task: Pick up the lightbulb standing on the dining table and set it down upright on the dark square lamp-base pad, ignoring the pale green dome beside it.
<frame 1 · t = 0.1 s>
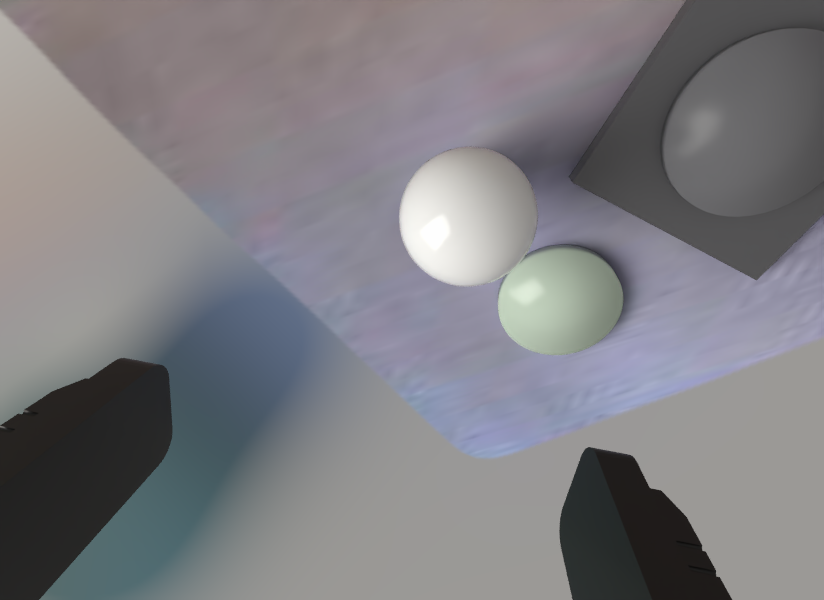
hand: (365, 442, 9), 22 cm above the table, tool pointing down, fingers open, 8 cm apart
lightbulb: (470, 174, 28), on the table
pale green dome: (557, 298, 32), on the table
lamp base pad: (742, 125, 25), on the table
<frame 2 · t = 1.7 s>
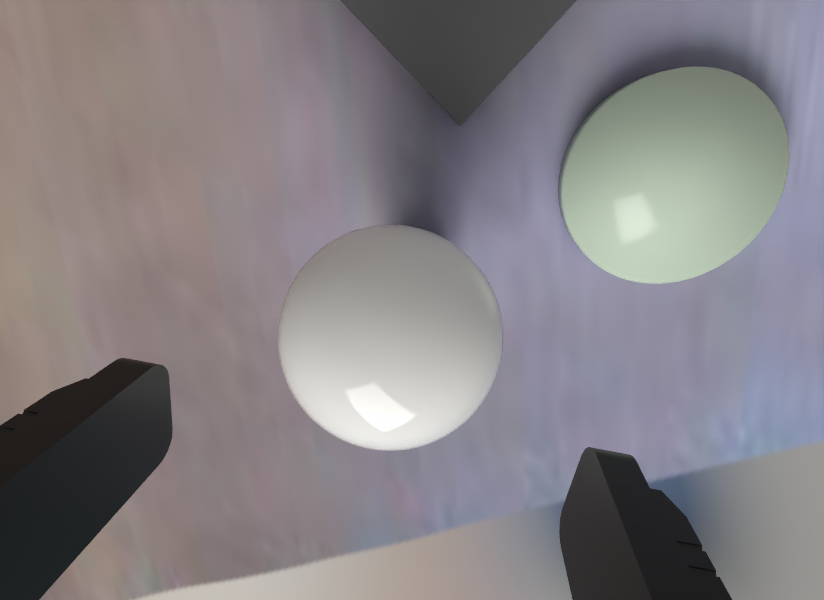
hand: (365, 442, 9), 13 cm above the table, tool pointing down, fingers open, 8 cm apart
lightbulb: (416, 257, 21), on the table
pale green dome: (661, 180, 18), on the table
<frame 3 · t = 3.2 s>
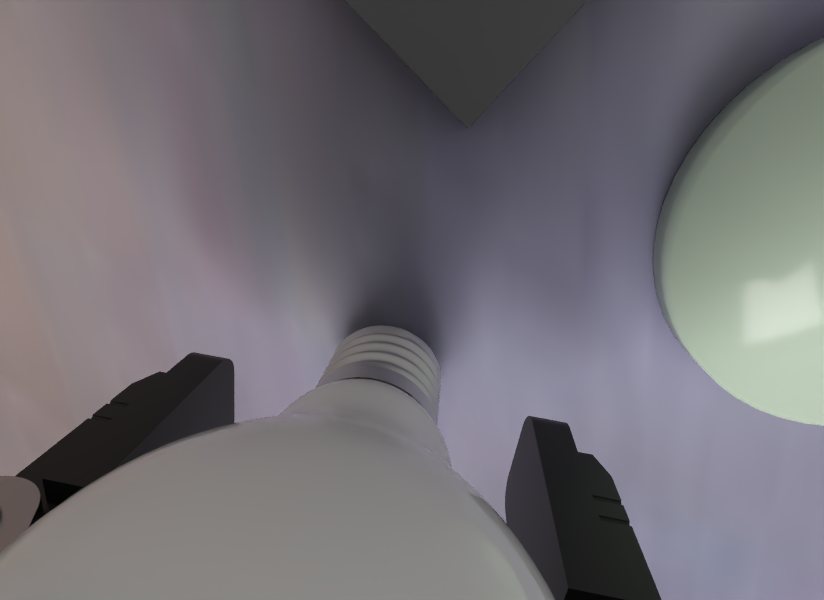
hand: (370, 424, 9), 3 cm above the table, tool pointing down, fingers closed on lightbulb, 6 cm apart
lightbulb: (391, 358, 12), on the table, touching gripper
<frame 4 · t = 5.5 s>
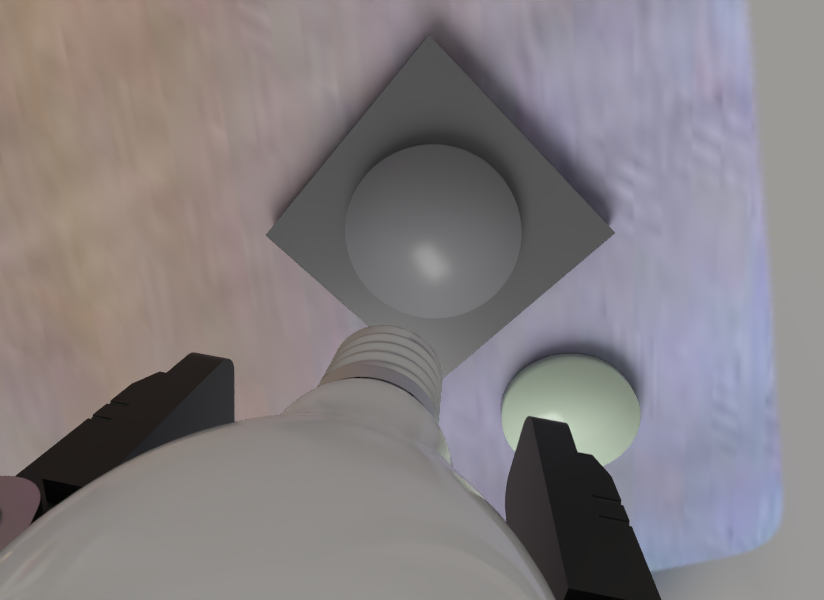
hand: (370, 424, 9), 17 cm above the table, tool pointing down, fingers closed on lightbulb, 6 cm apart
lightbulb: (392, 358, 12), point 15 cm above the table, touching gripper
pale green dome: (566, 410, 28), on the table
lamp base pad: (434, 229, 25), on the table
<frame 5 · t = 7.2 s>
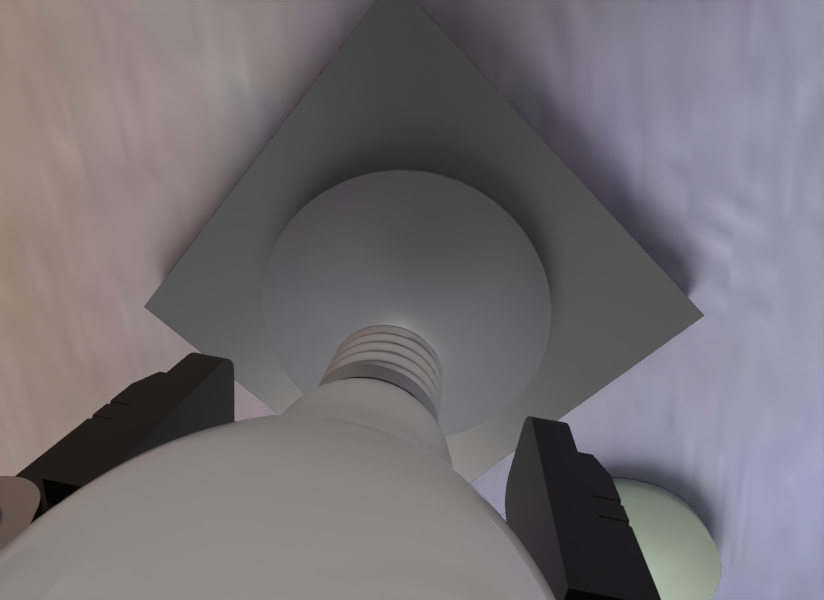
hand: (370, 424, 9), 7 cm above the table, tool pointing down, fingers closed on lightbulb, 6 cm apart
lightbulb: (392, 357, 12), point 5 cm above the table, touching gripper
pale green dome: (606, 553, 19), on the table
lamp base pad: (409, 297, 16), on the table
when the fingers open (5 cm above the table, at t = 8.3 s): lightbulb stays where it is, resting on lamp base pad.
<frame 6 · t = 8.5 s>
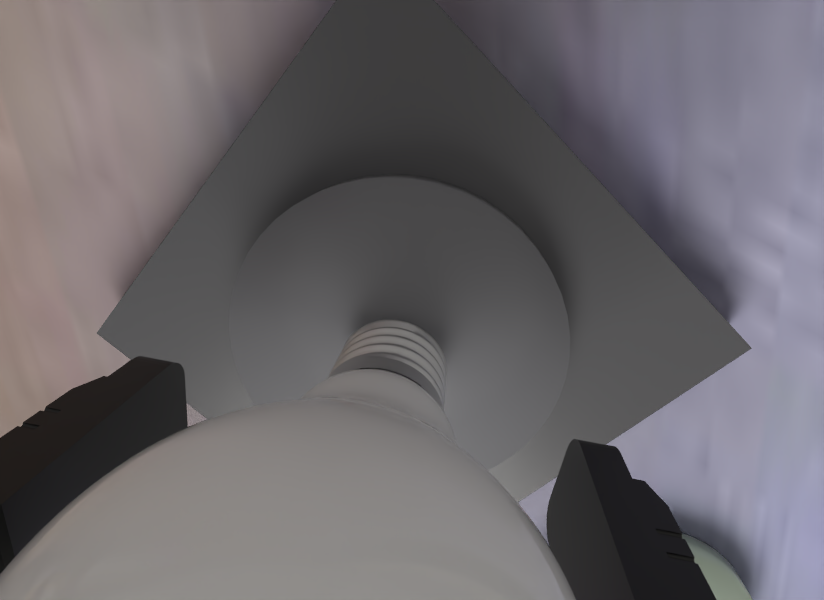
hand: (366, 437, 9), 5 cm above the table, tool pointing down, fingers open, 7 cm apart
lightbulb: (397, 352, 12), point 2 cm above the table, touching lamp base pad
lamp base pad: (403, 322, 14), on the table
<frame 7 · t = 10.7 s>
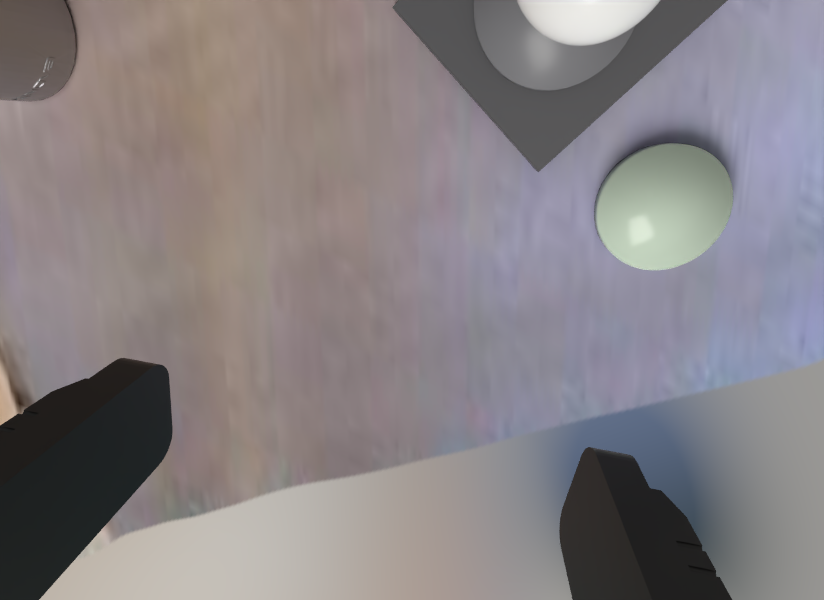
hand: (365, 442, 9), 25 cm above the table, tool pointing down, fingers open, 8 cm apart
lightbulb: (558, 1, 25), point 2 cm above the table, touching lamp base pad
pale green dome: (657, 207, 30), on the table
lamp base pad: (551, 7, 27), on the table
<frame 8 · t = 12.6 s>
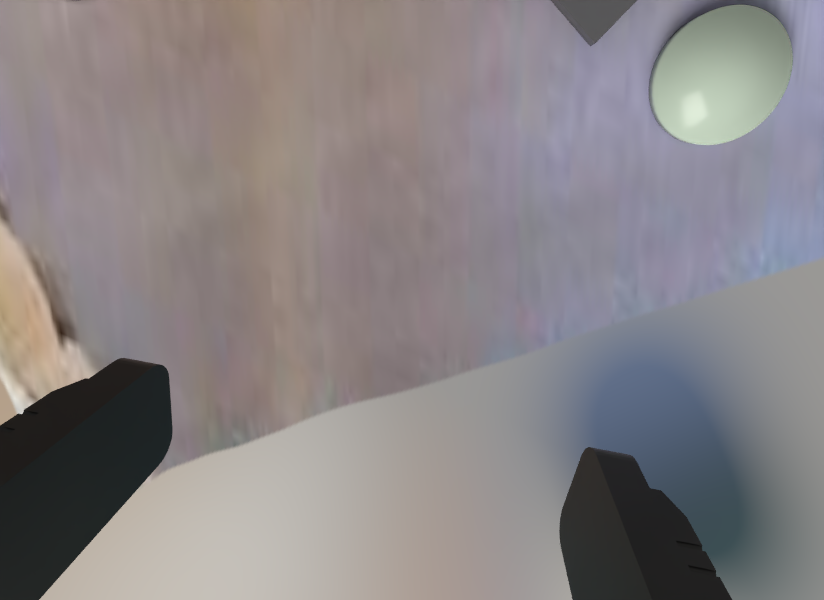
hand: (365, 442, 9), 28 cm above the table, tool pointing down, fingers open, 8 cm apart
pale green dome: (713, 79, 30), on the table
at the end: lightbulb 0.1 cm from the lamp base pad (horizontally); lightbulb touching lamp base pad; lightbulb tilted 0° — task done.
